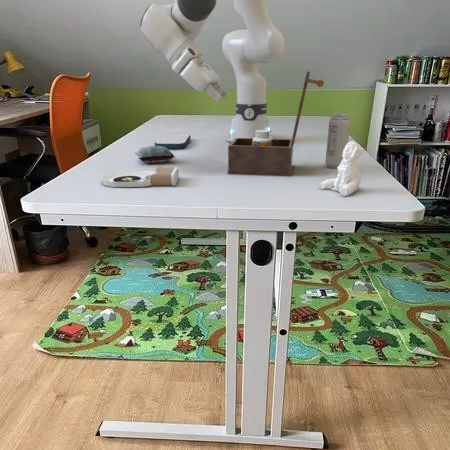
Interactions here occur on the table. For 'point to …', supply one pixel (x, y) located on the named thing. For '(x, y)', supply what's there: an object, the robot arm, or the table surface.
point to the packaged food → (154, 154)
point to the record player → (143, 178)
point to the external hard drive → (173, 140)
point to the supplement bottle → (261, 138)
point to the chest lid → (307, 80)
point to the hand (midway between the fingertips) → (222, 98)
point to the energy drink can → (337, 139)
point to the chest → (260, 157)
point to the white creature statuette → (346, 171)
